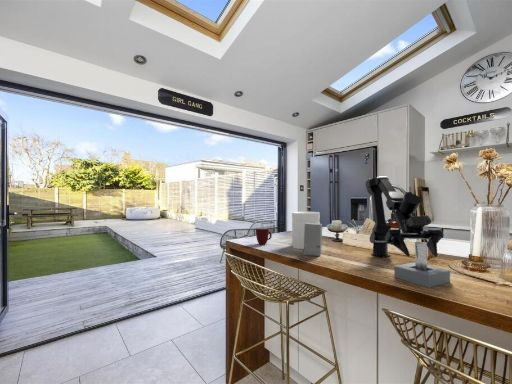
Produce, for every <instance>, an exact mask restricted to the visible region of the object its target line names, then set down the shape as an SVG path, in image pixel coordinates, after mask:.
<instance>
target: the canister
mask: <svg viewBox="0 0 512 384" xmlns="http://www.w3.org/2000/svg"><path fill="white" fill-rule="evenodd" d="M320 215H321V214H320V212H319V211H292V212H291V246H293V247H292V248H294V249H298V250H304V231H305V223H316V224H321V223H320V218H321V217H320Z"/></svg>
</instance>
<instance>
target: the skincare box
mask: <svg viewBox="0 0 512 384" xmlns="http://www.w3.org/2000/svg"><path fill="white" fill-rule="evenodd" d="M322 238H323V224H322V223H320V224H316V223H305V231H304V249H303V255H304V256H313V257H315V256H316V257H320V256H321V255H322V248H323V247H322V243H323V239H322Z"/></svg>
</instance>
